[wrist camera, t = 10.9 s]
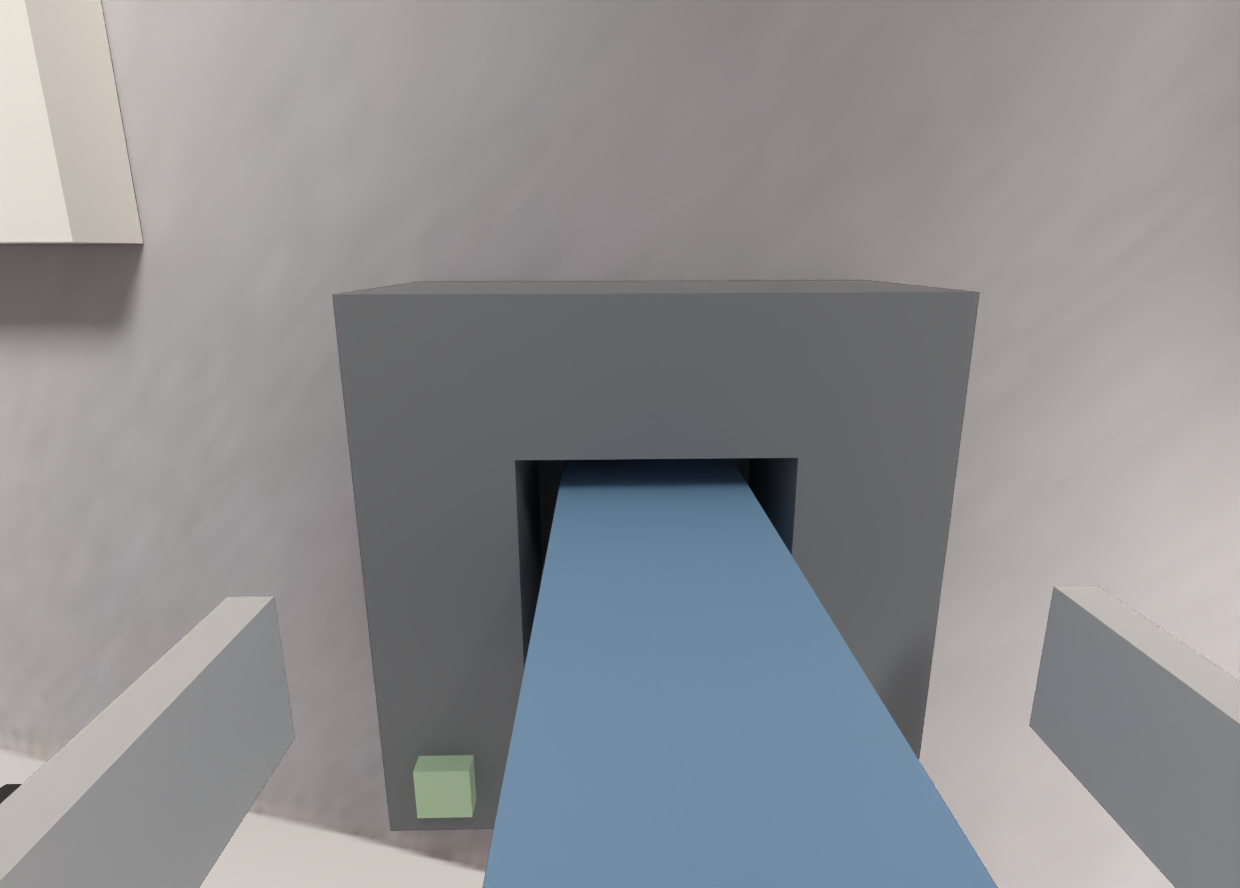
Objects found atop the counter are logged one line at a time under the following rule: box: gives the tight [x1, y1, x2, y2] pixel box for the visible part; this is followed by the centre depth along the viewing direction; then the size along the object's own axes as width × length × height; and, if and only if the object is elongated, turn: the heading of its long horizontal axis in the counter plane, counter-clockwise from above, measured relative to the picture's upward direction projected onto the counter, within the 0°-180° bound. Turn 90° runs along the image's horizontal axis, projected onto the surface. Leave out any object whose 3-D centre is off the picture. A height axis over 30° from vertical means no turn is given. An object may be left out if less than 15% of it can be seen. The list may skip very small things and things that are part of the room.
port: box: [332, 280, 980, 831], centre depth 17 cm, size 12×12×6 cm
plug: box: [483, 458, 998, 888], centre depth 12 cm, size 4×4×14 cm
